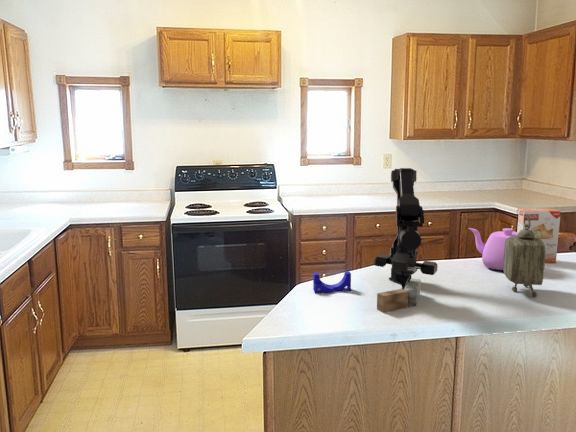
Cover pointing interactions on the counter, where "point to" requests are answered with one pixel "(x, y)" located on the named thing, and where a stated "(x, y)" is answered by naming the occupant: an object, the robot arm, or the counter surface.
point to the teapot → (493, 247)
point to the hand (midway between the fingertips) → (403, 290)
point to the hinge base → (394, 300)
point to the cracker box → (543, 228)
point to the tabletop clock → (524, 259)
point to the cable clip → (325, 288)
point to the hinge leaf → (413, 288)
